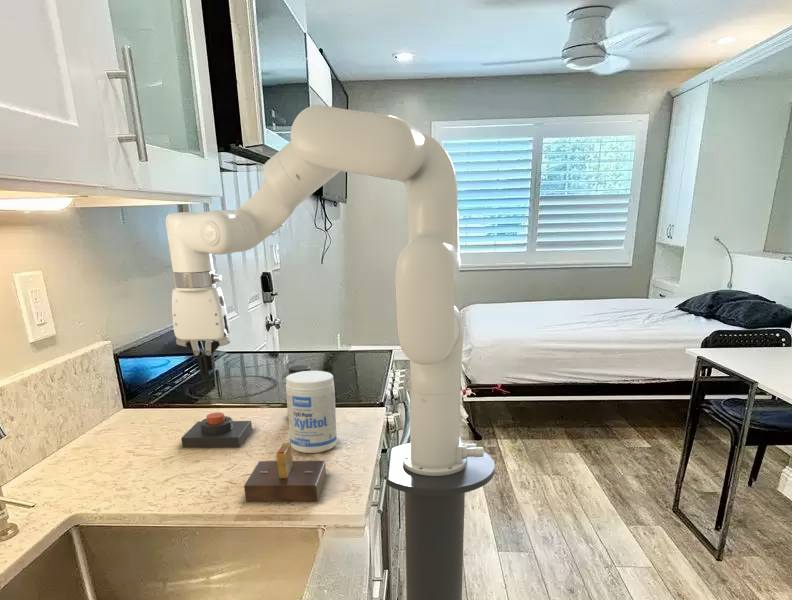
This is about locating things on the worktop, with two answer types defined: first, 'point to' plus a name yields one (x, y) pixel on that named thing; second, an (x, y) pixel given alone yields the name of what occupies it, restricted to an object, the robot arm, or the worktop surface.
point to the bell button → (215, 418)
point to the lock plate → (285, 482)
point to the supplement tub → (311, 411)
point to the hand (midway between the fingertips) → (207, 373)
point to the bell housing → (217, 434)
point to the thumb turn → (284, 460)
